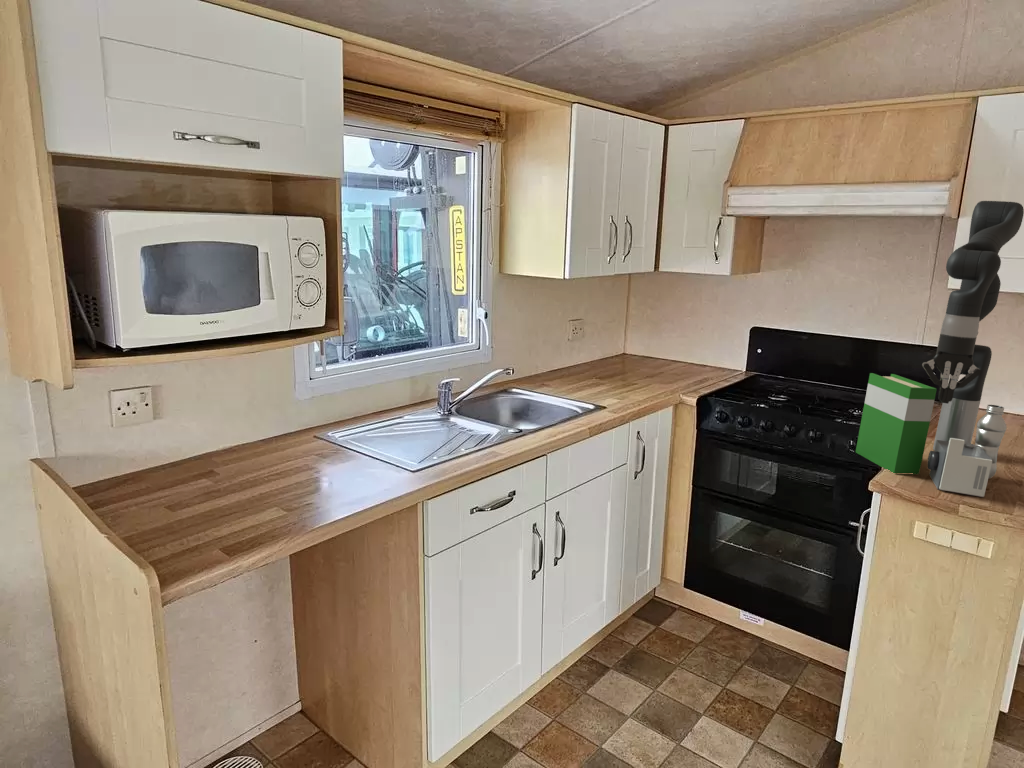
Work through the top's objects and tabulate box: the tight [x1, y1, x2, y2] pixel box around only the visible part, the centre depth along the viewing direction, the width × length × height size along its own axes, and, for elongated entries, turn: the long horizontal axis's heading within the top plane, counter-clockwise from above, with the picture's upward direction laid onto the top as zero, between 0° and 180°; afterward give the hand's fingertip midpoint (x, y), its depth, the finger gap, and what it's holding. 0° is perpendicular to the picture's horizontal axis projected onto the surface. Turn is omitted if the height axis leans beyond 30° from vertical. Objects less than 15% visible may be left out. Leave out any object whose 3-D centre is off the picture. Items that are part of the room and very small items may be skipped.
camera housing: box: [926, 440, 992, 498], centre depth 178 cm, size 12×12×11 cm
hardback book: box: [855, 372, 937, 475], centre depth 192 cm, size 18×7×24 cm, turn 6°
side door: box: [938, 438, 992, 498], centre depth 171 cm, size 1×10×14 cm, turn 68°
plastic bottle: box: [974, 404, 1007, 479], centre depth 185 cm, size 6×7×20 cm
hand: (944, 402), depth 171 cm, fingers closed
